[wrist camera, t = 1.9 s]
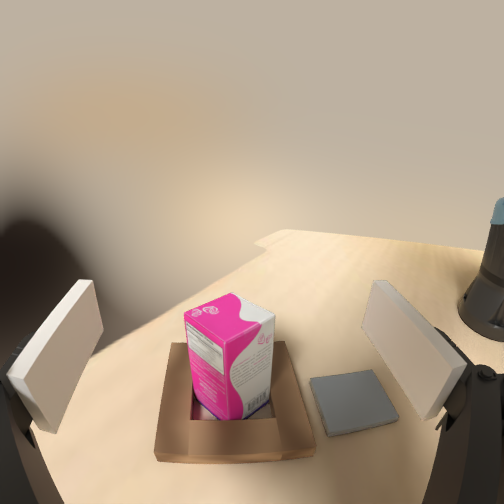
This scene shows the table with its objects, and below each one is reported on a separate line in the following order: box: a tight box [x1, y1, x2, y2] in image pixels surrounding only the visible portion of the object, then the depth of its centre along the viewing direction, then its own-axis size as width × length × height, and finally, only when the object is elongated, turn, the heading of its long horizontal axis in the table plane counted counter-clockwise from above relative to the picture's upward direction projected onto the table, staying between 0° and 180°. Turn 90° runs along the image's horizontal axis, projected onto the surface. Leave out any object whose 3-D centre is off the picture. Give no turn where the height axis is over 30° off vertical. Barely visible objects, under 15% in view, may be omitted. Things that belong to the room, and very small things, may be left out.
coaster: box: [309, 370, 399, 437], centre depth 28 cm, size 8×8×1 cm
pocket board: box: [154, 341, 316, 464], centre depth 28 cm, size 14×16×2 cm
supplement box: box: [184, 292, 275, 420], centre depth 27 cm, size 6×6×12 cm
